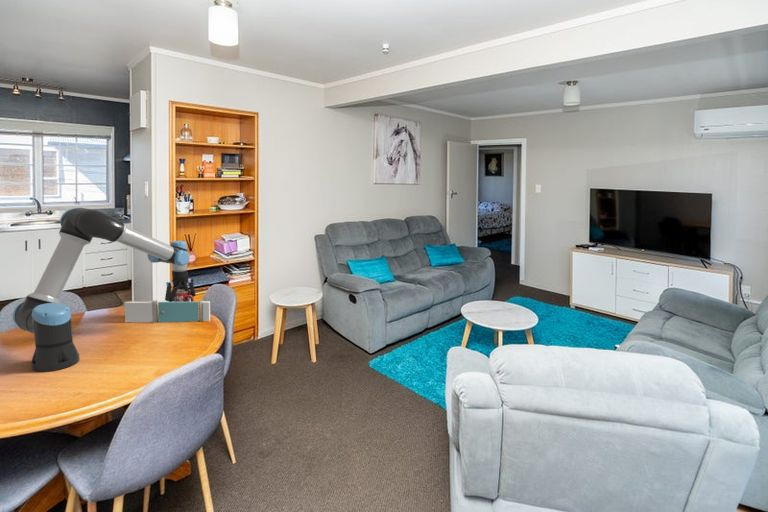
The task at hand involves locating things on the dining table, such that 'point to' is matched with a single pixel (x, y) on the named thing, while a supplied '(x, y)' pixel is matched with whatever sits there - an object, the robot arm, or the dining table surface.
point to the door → (178, 311)
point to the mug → (182, 296)
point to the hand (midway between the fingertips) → (181, 311)
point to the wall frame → (150, 311)
